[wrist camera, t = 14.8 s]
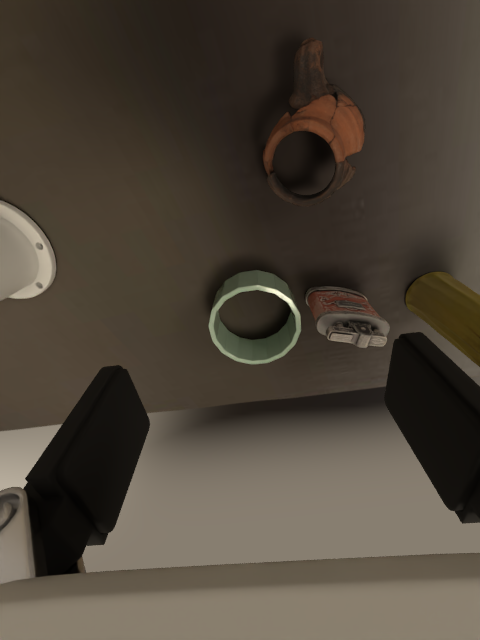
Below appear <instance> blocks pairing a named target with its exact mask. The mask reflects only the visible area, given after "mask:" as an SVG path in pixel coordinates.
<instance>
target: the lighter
mask: <svg viewBox="0 0 480 640" xmlns="http://www.w3.org/2000/svg"><path fill="white" fill-rule="evenodd" d="M305 300H306V303H307V305H308V306H310V309H311V311H312V314H313V316H314V318H315V321H316V323H315V324H316V328H317V330H318V331H319V333H321V334H323V335H326V336H327V337H328V339H329V340H332V341H340V342H348V343H352V344H354V345H356V346H357V347H360V348H366V347H367V346H368V345H373V346H384V345H385V343H386V341H387V338H386V337H385V336H386V335H387V334H388V332H389V329H390V328H389V324H388V323H387V322H386V320H385V319H383V318H381V317H380V316H379V315H378V314H377V313H376V311H375V310H374V309H373V308H372V307H371V306H370V304H369V303H368V302H367V299H366V297H365V296H364V295H363V294H362V293H360V292H357V291H353V290H350V289H345V288H340V287H328V286H325V287H313V288H310V289H309V290H308V291H307V292H306V295H305Z"/></svg>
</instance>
